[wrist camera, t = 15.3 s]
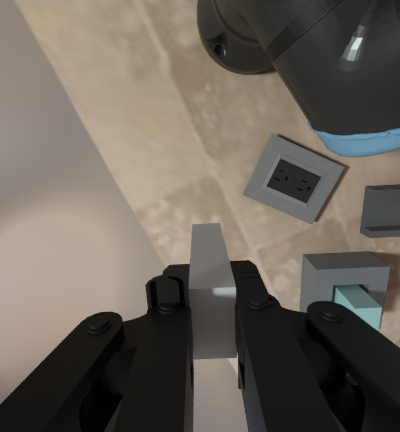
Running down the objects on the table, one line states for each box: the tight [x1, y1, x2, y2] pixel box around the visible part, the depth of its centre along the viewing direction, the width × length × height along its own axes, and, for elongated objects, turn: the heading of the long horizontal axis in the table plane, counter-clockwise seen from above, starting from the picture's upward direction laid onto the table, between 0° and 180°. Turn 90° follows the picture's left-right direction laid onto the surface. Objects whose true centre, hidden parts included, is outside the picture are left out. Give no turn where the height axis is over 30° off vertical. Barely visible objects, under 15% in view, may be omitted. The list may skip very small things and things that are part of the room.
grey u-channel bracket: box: [360, 185, 400, 238], centre depth 47 cm, size 8×8×3 cm
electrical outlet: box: [243, 134, 345, 224], centre depth 46 cm, size 13×10×2 cm
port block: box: [300, 252, 390, 329], centre depth 49 cm, size 12×12×6 cm
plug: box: [332, 284, 382, 330], centre depth 47 cm, size 4×4×10 cm
